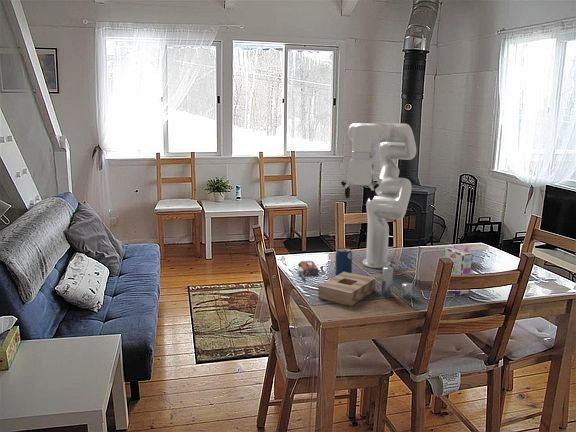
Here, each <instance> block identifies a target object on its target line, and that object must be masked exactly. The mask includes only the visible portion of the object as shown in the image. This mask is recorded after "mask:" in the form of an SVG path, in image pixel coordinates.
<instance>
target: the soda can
mask: <svg viewBox="0 0 576 432" xmlns="http://www.w3.org/2000/svg"><path fill="white" fill-rule="evenodd" d="M334 269H335V270H334V271H335V276H337V275H339V274H340V273H342V272H348V273H353V272H352V271H353V251H352V249H351V248H349V247H339V248H337V250H336V253H335V267H334Z"/></svg>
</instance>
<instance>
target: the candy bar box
mask: <svg viewBox="0 0 576 432" xmlns="http://www.w3.org/2000/svg"><path fill="white" fill-rule="evenodd" d="M463 250H464V249H460V248H458V247H455V246H453V247H452V246H451V247H445V248H444V256H445V257H448V258H450V259H452V260H453V261H454V267H453V271H452V275H471V276H472V266H473V257H474V256H473V255H474V253H471V252H469V251H468V252H466V251H463ZM444 256H443V257H444ZM451 292H452V293H454V294H456V295H458V296H465V295H466V296H467V295H469V294H470V290H469V291H451Z"/></svg>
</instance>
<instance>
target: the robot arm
mask: <svg viewBox="0 0 576 432" xmlns="http://www.w3.org/2000/svg"><path fill="white" fill-rule="evenodd" d="M347 137H348V139H349V141H351V143H352V144H351V145H352V147H351V158H349V159H350V160H349V161H348V167H347V172H346V173H345V174H343V175H340V176H339V177H338V178H339V181H340V184H341V186H343V187H344V196H345V199H349V198H350V197H351V188H350V187H351V185H358V186H368V187H369V188H370V190H369V198H368V199H367V200H366V203H365V204H366V217H367V231H366V232H367V233H366V256H365V257H366V258H364V259H363V260H362V265H364V266H365V267H368V268H373V269H383V267H385V266H389V267H391V261H390V260H388V257H389V256H390V252H389V251H388V250H389V235H390V234H389V232H390V228H389V224H388V222H387V220H386V219H388V220H389V219H390V220H402V219H403V218H404V217H405V215H406V213H407V209H408V206H409V205H408V204H409V202H410V198H411V195H412V187H413V186H412V182H411V181H410V179H408V178H405V177H399V175H400V169H399V167H398V165H397V163H396V162H395V161H394V160H407V161H408V160H413V159H414V158H415V157H416V155H417V144H416V140H415V135H414V132H413V129H412V127H411V126H410V125H409V124H408V123H394V122H370V123H369V122H367V123H365V122H361V123H360V122H357V123H356V122H353V123H352V124H350V125H349V127H348V129H347ZM373 143H375V144H376V143H377V144H379V145H378V157H379V158H378V159H379V161H380V162H379V163H380V172H379V174H378V175H379V176H377V175H375V166H374V160H373V159H372V158H375V153H373V152H372V144H373ZM345 179H346V181H347V182H346V181H345ZM375 181H376V183H375V184H374V182H375ZM375 194H376V195H375Z"/></svg>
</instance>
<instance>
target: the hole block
mask: <svg viewBox="0 0 576 432" xmlns="http://www.w3.org/2000/svg"><path fill="white" fill-rule="evenodd" d="M317 287H318V290H317V298H318V299H322V300H325V301H330V302H333V303H337V304H341V305H345V306H349V307H352V306H353V305H355V304H356V303H358V302H360V301H361V300H363V299H364V298H366V297H367V296H368V295H370V294H372V293H373V292H375V290H376V278H375V277H372V276H367V275H362V274H358V273H354V272H352V273H348V272H342V273H340V274H339V275H337V276H336V275H335V276H334V277H331V278H330V279H328V280H326V281H324V282H322V283H320V284H318V286H317Z"/></svg>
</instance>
